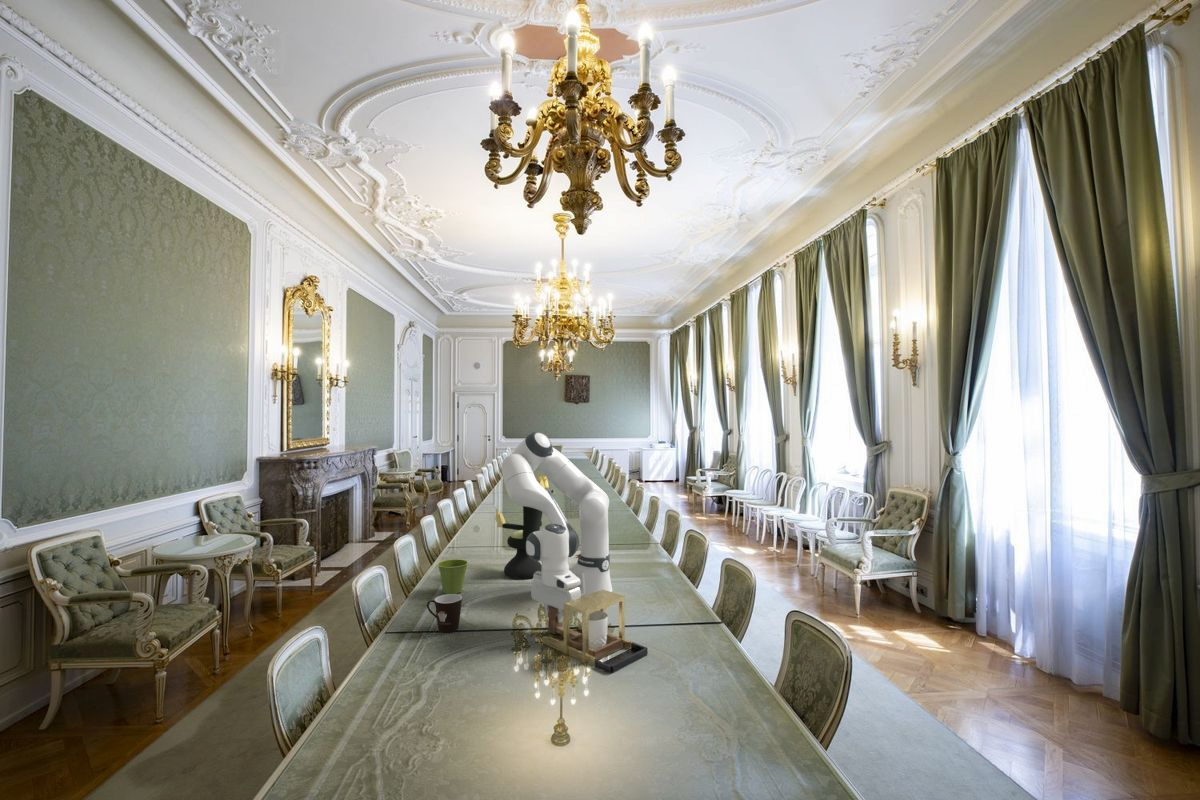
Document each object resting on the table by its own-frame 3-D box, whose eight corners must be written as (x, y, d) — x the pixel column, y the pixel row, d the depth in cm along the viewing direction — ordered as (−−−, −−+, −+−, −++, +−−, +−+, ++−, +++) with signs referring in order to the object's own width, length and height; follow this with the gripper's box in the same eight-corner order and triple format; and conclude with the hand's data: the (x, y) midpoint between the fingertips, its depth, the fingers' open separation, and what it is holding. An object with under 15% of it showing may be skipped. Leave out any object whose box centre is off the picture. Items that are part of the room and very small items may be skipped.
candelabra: (529, 564, 254) (529, 466, 254) (560, 575, 238) (561, 470, 238) (493, 573, 240) (494, 469, 241) (525, 585, 225) (525, 473, 225)
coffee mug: (467, 629, 181) (467, 598, 181) (443, 637, 175) (443, 605, 175) (447, 619, 189) (447, 590, 189) (424, 627, 183) (424, 596, 183)
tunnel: (542, 644, 170) (542, 595, 170) (581, 627, 182) (581, 582, 183) (610, 674, 151) (610, 620, 151) (649, 654, 163) (649, 603, 164)
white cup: (588, 657, 161) (588, 622, 161) (577, 646, 168) (577, 613, 168) (612, 651, 165) (612, 617, 165) (600, 641, 172) (600, 609, 172)
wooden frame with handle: (537, 635, 175) (537, 610, 175) (565, 624, 184) (565, 600, 184) (595, 661, 158) (595, 632, 158) (622, 647, 167) (622, 620, 167)
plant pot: (473, 593, 215) (473, 564, 215) (442, 599, 209) (443, 569, 209) (462, 585, 225) (462, 557, 225) (432, 590, 218) (433, 561, 219)
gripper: (526, 571, 183) (526, 613, 183) (570, 585, 170) (569, 631, 169) (541, 567, 188) (541, 608, 188) (584, 581, 174) (584, 625, 174)
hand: (555, 619), depth 179 cm, fingers closed on wooden frame with handle, 3 cm apart
